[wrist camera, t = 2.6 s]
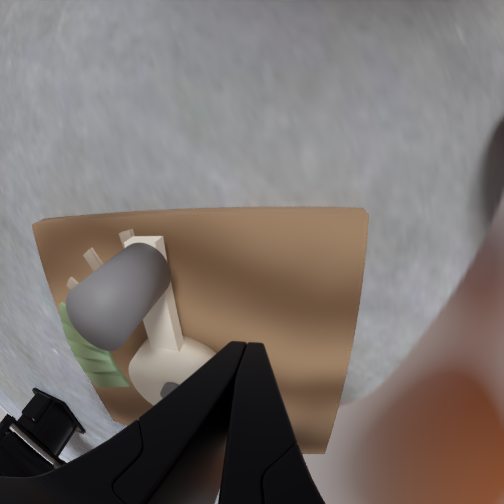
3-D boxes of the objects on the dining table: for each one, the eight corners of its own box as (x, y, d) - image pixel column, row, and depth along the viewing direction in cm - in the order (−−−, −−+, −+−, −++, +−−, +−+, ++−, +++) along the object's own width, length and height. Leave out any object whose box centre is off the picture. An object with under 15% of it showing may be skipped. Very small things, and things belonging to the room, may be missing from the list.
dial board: (324, 442, 19) (324, 456, 18) (119, 412, 23) (112, 422, 21) (363, 208, 12) (370, 217, 11) (43, 219, 15) (28, 226, 14)
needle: (236, 407, 17) (218, 476, 12) (153, 393, 18) (123, 451, 13) (214, 231, 12) (161, 294, 8) (103, 233, 13) (30, 280, 9)
